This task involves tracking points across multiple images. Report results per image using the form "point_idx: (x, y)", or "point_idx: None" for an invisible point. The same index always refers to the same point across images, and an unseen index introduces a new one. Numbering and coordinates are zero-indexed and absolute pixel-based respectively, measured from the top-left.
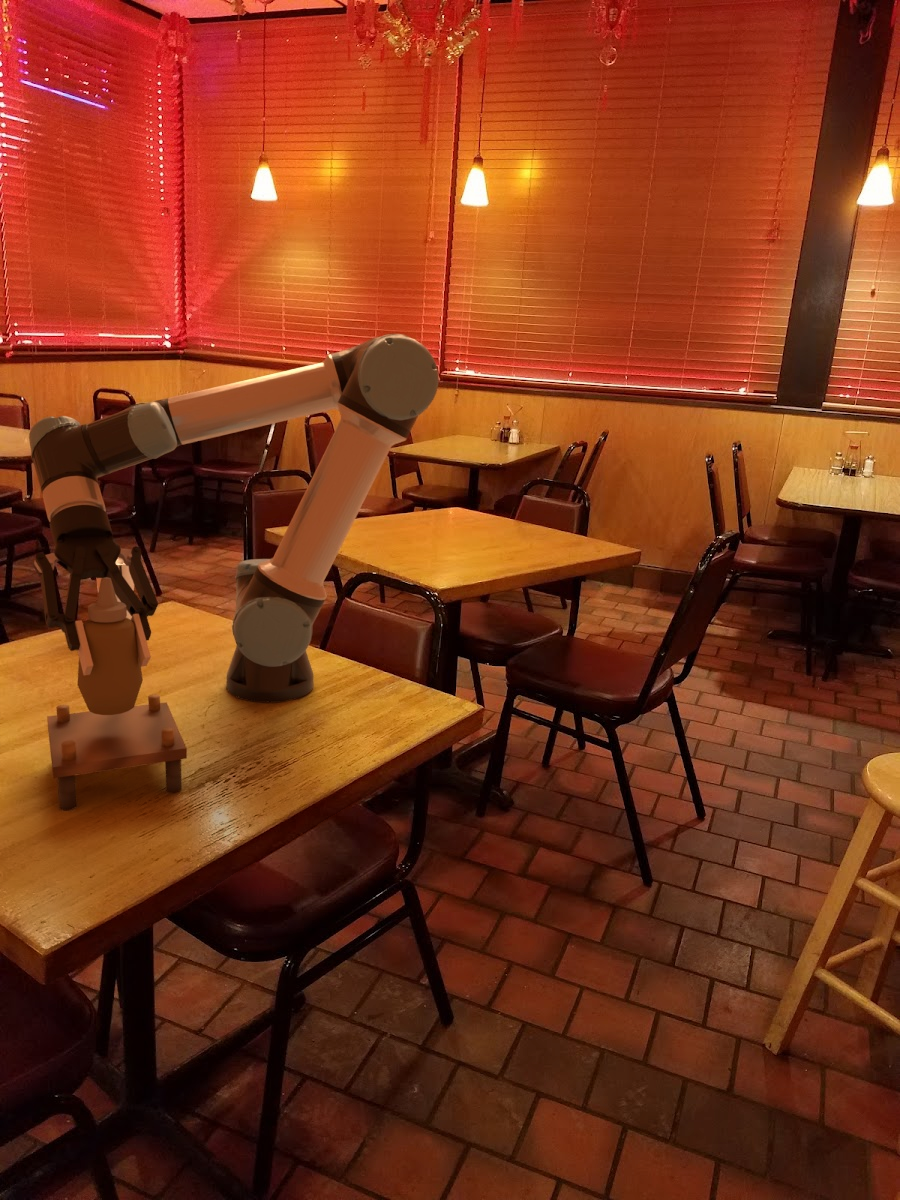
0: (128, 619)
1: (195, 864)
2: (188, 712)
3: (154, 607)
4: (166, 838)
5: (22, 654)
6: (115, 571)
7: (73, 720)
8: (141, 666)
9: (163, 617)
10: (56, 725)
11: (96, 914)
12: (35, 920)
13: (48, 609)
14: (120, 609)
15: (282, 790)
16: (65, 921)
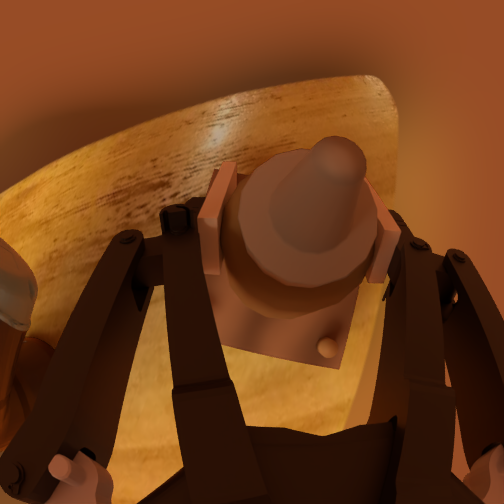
0: (235, 219)
1: (269, 89)
2: (134, 389)
3: (133, 231)
4: (275, 128)
5: None
6: (201, 385)
7: (313, 337)
8: None
9: None
10: (338, 331)
11: (349, 81)
12: (383, 98)
13: (475, 271)
14: (279, 154)
15: (144, 150)
16: (367, 87)
